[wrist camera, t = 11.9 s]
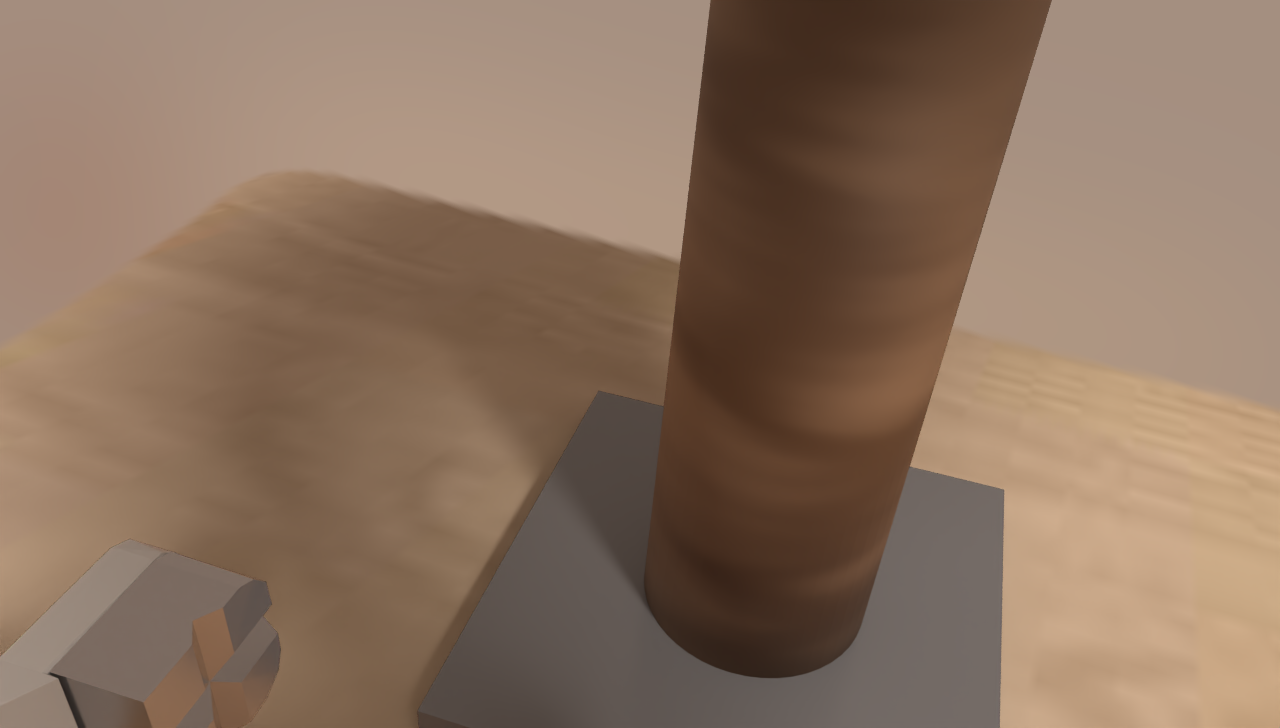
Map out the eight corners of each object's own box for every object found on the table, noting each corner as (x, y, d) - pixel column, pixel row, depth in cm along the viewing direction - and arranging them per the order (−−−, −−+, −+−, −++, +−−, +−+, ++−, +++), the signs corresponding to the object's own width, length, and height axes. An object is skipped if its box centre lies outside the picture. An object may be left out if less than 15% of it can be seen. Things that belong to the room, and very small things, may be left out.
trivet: (996, 510, 30) (1004, 489, 29) (985, 915, 20) (996, 895, 20) (597, 411, 32) (598, 390, 31) (419, 733, 22) (416, 710, 22)
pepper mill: (874, 540, 27) (1107, -251, 17) (849, 706, 23) (1142, -216, 12) (675, 489, 28) (777, -288, 18) (616, 639, 24) (704, -267, 13)
